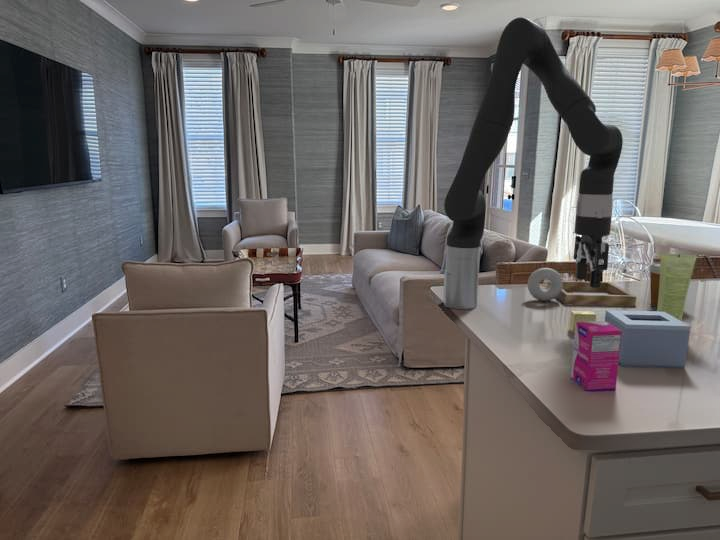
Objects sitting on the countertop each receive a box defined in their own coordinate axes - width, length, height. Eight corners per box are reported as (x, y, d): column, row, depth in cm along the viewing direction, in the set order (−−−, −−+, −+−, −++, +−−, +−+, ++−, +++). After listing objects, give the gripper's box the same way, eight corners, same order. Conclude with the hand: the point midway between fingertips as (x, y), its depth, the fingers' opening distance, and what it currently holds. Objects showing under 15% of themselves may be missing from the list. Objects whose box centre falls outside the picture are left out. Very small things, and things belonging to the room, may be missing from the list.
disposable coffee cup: (646, 308, 144) (652, 266, 141) (642, 300, 152) (647, 261, 150) (685, 312, 140) (692, 269, 138) (679, 304, 149) (685, 263, 146)
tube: (664, 330, 125) (675, 251, 121) (685, 336, 121) (697, 254, 117) (649, 333, 123) (660, 252, 119) (670, 339, 118) (681, 256, 114)
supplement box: (568, 379, 96) (574, 320, 93) (599, 378, 96) (605, 320, 94) (584, 393, 90) (591, 330, 88) (616, 392, 90) (624, 330, 88)
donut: (559, 300, 152) (562, 267, 150) (562, 303, 149) (566, 269, 147) (525, 298, 153) (527, 266, 151) (527, 301, 150) (530, 268, 148)
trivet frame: (565, 304, 147) (566, 294, 146) (546, 289, 165) (547, 280, 164) (635, 306, 146) (636, 296, 145) (608, 291, 164) (609, 281, 163)
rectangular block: (572, 334, 122) (574, 313, 121) (569, 330, 124) (570, 310, 123) (594, 334, 121) (596, 314, 120) (590, 331, 124) (592, 311, 123)
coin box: (621, 367, 101) (626, 324, 99) (601, 350, 111) (605, 310, 109) (684, 370, 101) (690, 326, 99) (658, 351, 110) (663, 311, 109)
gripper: (566, 211, 124) (561, 276, 128) (588, 216, 110) (582, 290, 114) (598, 211, 124) (592, 277, 127) (624, 217, 110) (617, 290, 113)
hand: (587, 283), depth 120 cm, fingers open, 8 cm apart
